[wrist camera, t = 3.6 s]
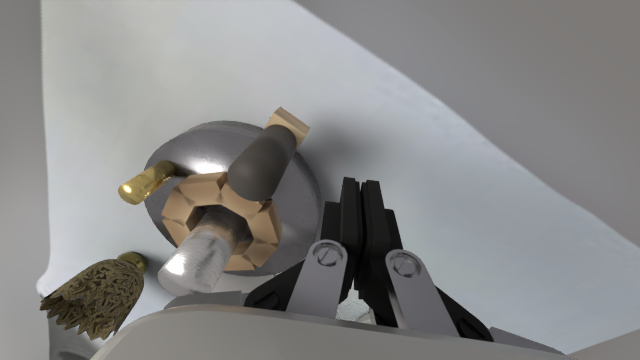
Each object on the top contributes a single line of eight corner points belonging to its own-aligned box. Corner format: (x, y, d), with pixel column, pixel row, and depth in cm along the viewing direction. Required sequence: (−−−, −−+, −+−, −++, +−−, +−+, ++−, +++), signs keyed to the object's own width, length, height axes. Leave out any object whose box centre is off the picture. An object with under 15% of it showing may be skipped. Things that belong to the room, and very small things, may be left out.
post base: (345, 235, 26) (343, 334, 17) (225, 267, 30) (176, 357, 22) (268, 89, 19) (200, 130, 10) (130, 159, 24) (5, 227, 15)
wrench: (251, 270, 25) (222, 338, 19) (163, 224, 23) (102, 284, 17) (350, 156, 18) (350, 212, 12) (233, 72, 16) (165, 92, 10)
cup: (139, 283, 34) (86, 345, 27) (95, 248, 31) (23, 307, 24) (176, 271, 32) (128, 335, 25) (133, 231, 29) (65, 291, 22)
